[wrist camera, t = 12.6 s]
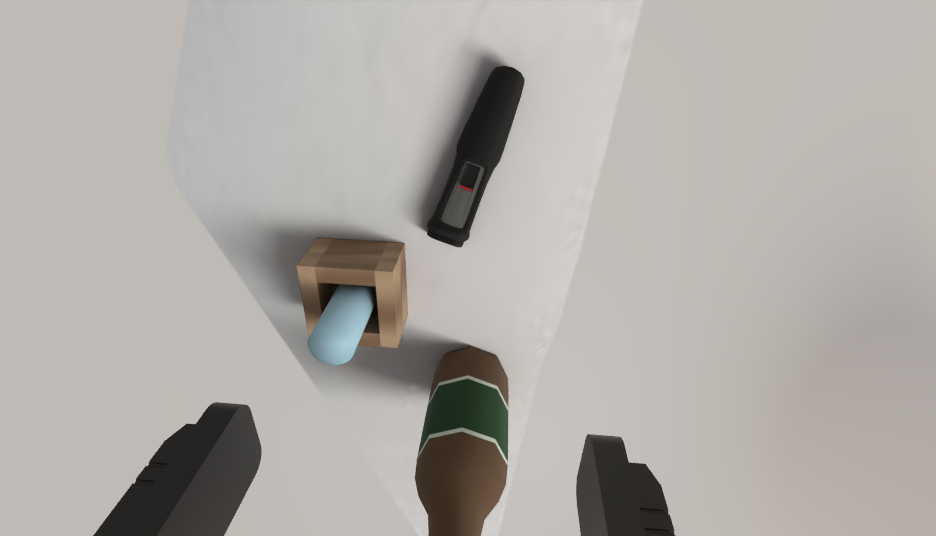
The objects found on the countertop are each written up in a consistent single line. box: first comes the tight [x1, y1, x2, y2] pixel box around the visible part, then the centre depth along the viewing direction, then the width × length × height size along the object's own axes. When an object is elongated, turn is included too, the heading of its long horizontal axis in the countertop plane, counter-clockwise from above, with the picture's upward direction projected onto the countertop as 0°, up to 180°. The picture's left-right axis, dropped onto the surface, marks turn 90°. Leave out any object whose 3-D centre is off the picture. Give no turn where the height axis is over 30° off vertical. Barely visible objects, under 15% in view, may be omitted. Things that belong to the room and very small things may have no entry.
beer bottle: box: [415, 347, 508, 536], centre depth 40 cm, size 8×8×24 cm
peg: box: [308, 284, 377, 365], centre depth 41 cm, size 4×4×10 cm
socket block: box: [296, 238, 408, 348], centre depth 43 cm, size 8×8×5 cm
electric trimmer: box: [427, 66, 524, 247], centre depth 38 cm, size 4×16×3 cm, turn 159°
